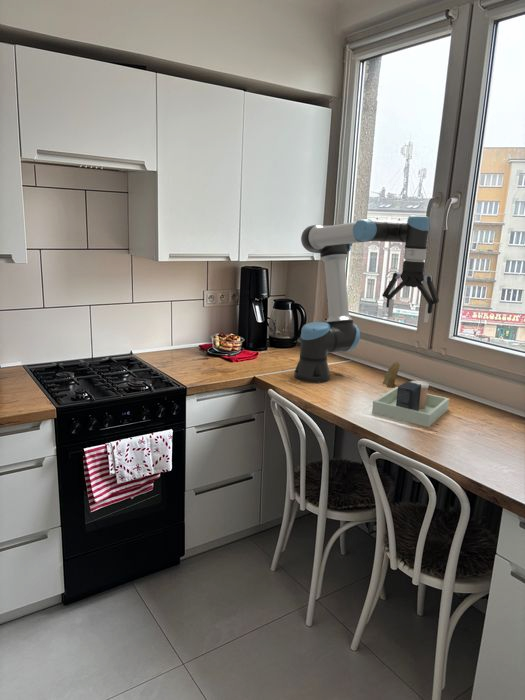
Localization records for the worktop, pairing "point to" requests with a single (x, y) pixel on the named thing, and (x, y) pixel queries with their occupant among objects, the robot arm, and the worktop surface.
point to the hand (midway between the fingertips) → (407, 319)
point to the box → (409, 396)
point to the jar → (422, 393)
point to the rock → (391, 375)
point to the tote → (422, 417)
